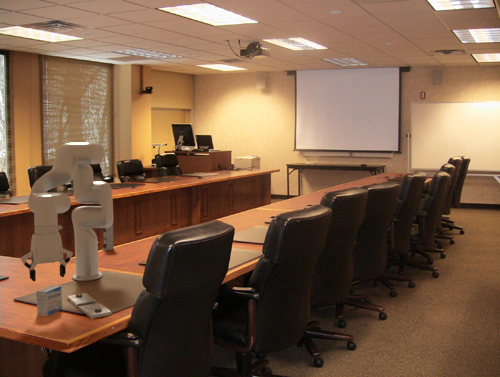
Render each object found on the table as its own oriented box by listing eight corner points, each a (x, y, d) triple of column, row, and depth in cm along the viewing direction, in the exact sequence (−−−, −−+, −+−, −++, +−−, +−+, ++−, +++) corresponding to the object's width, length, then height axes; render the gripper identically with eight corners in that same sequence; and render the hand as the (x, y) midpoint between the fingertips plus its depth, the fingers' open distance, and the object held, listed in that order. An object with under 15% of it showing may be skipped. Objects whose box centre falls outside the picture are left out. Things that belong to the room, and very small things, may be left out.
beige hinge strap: (67, 299, 197) (67, 294, 197) (85, 295, 201) (85, 291, 201) (91, 319, 175) (91, 313, 175) (111, 314, 179) (111, 309, 179)
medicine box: (47, 316, 178) (46, 292, 177) (36, 315, 179) (35, 291, 178) (62, 309, 185) (61, 286, 184) (52, 308, 187) (51, 284, 186)
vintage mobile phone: (102, 249, 284) (100, 204, 282) (110, 248, 288) (108, 204, 285) (105, 251, 282) (104, 205, 279) (113, 249, 285) (112, 204, 283)
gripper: (68, 226, 187) (69, 273, 189) (17, 231, 177) (19, 280, 179) (74, 229, 181) (76, 277, 183) (22, 234, 171) (24, 284, 173)
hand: (48, 278), depth 181 cm, fingers open, 9 cm apart
